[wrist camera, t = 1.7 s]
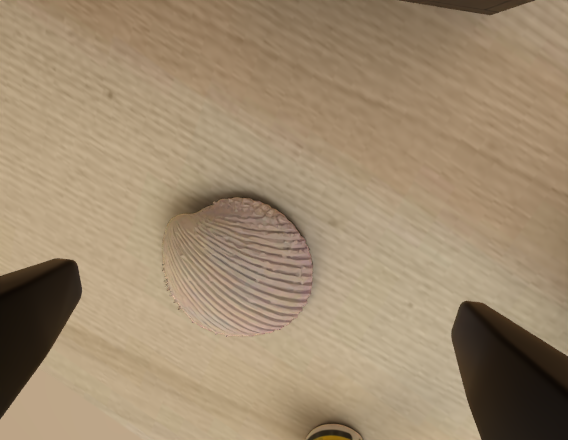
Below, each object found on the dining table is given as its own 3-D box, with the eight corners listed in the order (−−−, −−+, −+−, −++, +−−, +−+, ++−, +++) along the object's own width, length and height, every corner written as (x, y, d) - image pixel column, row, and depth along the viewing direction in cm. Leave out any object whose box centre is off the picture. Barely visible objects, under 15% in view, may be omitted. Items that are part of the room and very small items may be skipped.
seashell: (213, 164, 18) (341, 318, 18) (250, 159, 23) (349, 279, 23) (97, 277, 21) (206, 408, 21) (152, 251, 27) (239, 356, 27)
